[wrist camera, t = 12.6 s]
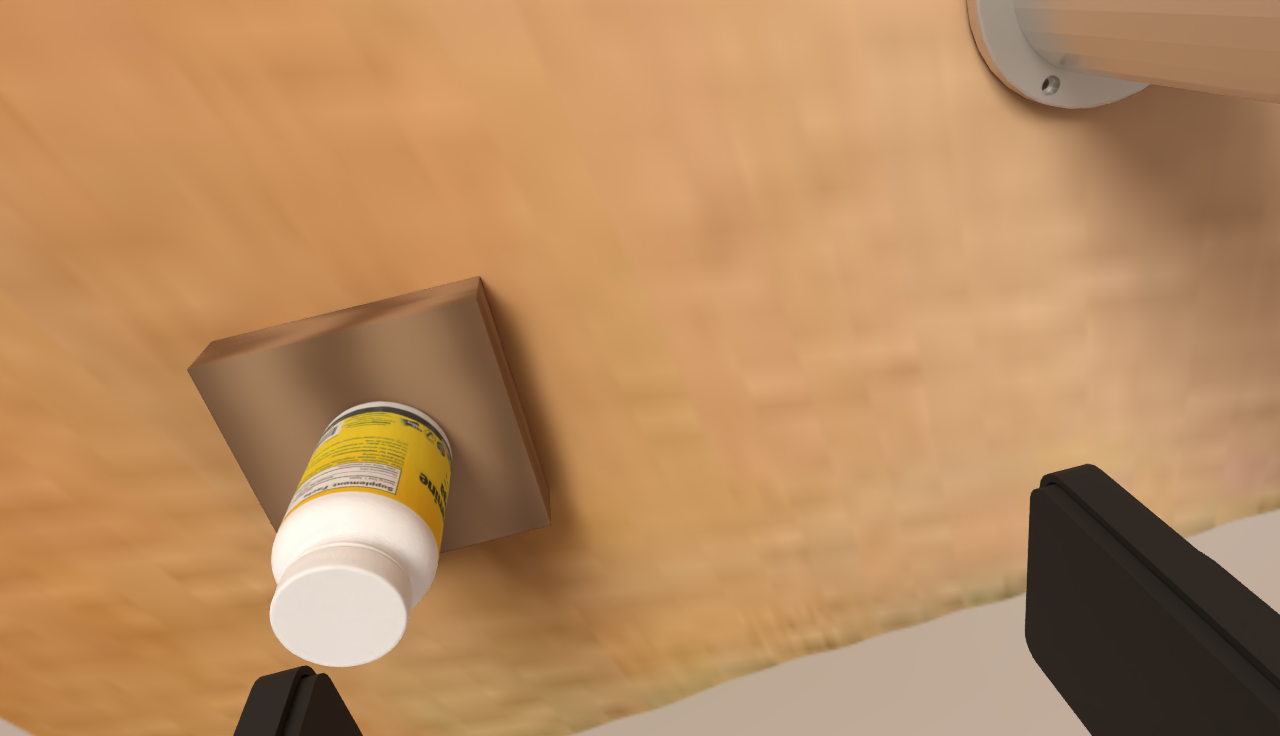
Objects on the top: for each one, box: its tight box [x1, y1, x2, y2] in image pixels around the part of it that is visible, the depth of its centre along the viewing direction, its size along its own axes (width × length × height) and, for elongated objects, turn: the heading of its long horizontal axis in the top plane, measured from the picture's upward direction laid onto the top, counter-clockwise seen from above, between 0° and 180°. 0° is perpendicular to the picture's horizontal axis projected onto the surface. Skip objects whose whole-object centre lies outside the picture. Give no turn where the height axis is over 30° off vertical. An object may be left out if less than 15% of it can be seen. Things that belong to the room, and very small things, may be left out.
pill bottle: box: [270, 401, 452, 667], centre depth 32 cm, size 6×6×11 cm
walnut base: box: [187, 276, 551, 553], centre depth 38 cm, size 13×13×3 cm
